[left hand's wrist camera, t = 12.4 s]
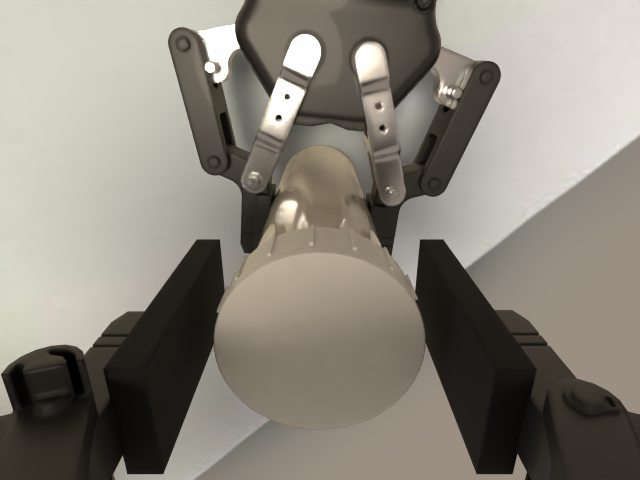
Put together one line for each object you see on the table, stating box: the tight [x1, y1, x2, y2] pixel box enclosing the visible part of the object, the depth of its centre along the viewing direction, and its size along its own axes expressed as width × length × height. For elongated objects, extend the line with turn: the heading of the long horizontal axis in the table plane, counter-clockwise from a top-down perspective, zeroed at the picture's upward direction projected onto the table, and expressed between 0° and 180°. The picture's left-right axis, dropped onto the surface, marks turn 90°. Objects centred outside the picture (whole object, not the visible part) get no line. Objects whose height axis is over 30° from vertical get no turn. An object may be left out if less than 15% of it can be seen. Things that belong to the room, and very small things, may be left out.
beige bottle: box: [257, 145, 383, 249], centre depth 19 cm, size 5×5×16 cm
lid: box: [214, 225, 425, 430], centre depth 11 cm, size 5×5×2 cm
